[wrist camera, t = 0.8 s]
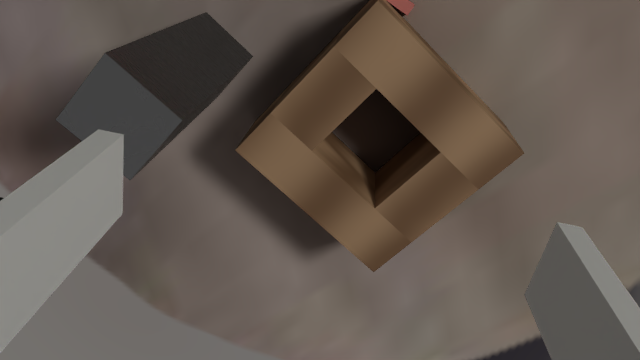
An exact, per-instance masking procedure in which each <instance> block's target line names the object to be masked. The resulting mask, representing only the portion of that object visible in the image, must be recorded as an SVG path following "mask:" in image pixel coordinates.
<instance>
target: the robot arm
mask: <svg viewBox="0 0 640 360" xmlns="http://www.w3.org/2000/svg"><path fill="white" fill-rule="evenodd" d="M123 152H124V134H119V133H114V132H109V131H104V130H100V129H98V130H97V131H95V132H94V133H93V134H91V135H90V136H89V137H87V138H86V139H84V140H83V141H82V142H80V143H79V144H78V145H76V146H75V147H74V148H72V149H71V150H69V151H68V152H67V153H65V154H64V155H63V156H61V157H60V158H58V159H57V160H56V161H54V162H53V163H52V164H50V165H49V166H48V167H46V168H45V169H43V170H42V171H41V172H39V173H38V174H37V175H35V176H34V177H32V178H31V179H30V180H28V181H27V182H26V183H24V184H23V185H22V186H20V187H19V188H17V189H16V190H15V191H13V192H12V193H11V194H9V195H8V196H6V197H5V198H0V353H1V352H2V350H3V349H4V348H5V347H6V346H7V345H8V343H10V341H11V340H12V339H13V338H14V337H15V336H16V334H17V333H18V332H19V331H20V330H21V329H22V328H23V327H24V325H25V324H26V323H27V322H28V321H29V320H30V318H31V317H32V316H33V315H34V314H35V313H36V312H37V311H38V309H39V308H40V307H41V306H42V305H43V304H44V303H45V301H46V300H47V299H48V298H49V297H50V296H51V295H52V293H53V292H54V291H55V290H56V289H57V288H58V286H59V285H60V284H61V283H62V282H63V281H64V280H65V279H66V278H67V276H68V275H69V274H70V273H71V272H72V271H73V269H74V268H75V267H76V266H77V265H78V264H79V263H80V262H81V260H82V259H83V258H84V257H85V256H86V255H87V254H88V252H89V251H90V250H91V249H92V248H93V247H94V246H95V244H96V243H97V242H98V241H99V240H100V239H101V238H102V236H103V235H104V234H105V233H106V232H107V231H108V230H109V229H110V227H111V226H112V225H113V224H114V223H115V222H116V221H117V219H118V218H119V217H120V216H121V215H122V214H123ZM525 297H526V300H527V302H528V305H529V307H530V309H531V312H532V314H533V317H534V319H535V321H536V324H537V326H538V328H539V331H540V333H541V336H542V338H543V340H544V343H545V345H546V348H547V350H548V352H549V355H550V357H551V359H552V360H640V308H639V307H638V305H637V304H636V303H635V301H634V300H633V298H632V297H631V295H630V294H629V292H628V291H627V290H626V288H625V287H624V285H623V284H622V283H621V281H620V280H619V278H618V277H617V276H616V274H615V273H614V271H613V270H612V268H611V267H610V266H609V264H608V263H607V261H606V260H605V259H604V257H603V256H602V254H601V253H600V252H599V250H598V249H597V247H596V246H595V244H594V243H593V242H592V240H591V239H590V237H589V236H588V235H587V233H586V232H585V230H584V229H583V228H582V227H579V226H574V225H569V224H564V223H559V222H557V223H556V225H555V228H554V230H553V232H552V234H551V237H550V239H549V241H548V243H547V246H546V248H545V250H544V252H543V254H542V257H541V259H540V261H539V263H538V266H537V268H536V270H535V272H534V275H533V277H532V279H531V281H530V284H529V286H528V288H527V290H526V293H525Z"/></svg>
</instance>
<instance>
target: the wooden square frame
mask: <svg viewBox="0 0 640 360" xmlns="http://www.w3.org/2000/svg"><path fill="white" fill-rule="evenodd" d="M376 89H377V90H378V91H379V92H380V93H381V94H382V95H383V96H384V97H385V98H386V99H387V100H388V101H390V102H391V103H392V104H393V105H394V106H395V107H396V108H397V109H398V110H399V111H400V112H401V113H402V114H403V115H404V116H405V117H406V118H407V119H408V120H409V121H410V122H411V123H412V124H413V125H414V126H415V127H416V128H417V129H418V130H419V131H420V132H421V133H420V134H419V135H418V136H416V137H415V138H414V139H413V140H412V141H411V142H410V143H408V144H407V145H406V146H405V147H404V148H403V149H402V150H401V151H399V152H398V153H397V154H396V155H395V156H394V157H393V158H392V159H390V160H389V161H388V162H387V163H386V164H385V165H384V166H382V167H381V168H380V169H379V170H378V171H377V172H376V173H375V172H374V171H373V170H372V169H370V168H369V167H368V166H367V165H366V164H365V163H364V162H363V161H362V160H361V159H360V158H359V157H358V156H357V155H356V154H355V153H353V152H352V151H351V150H350V149H349V148H348V147H347V146H346V145H345V144H344V143H343V142H342V141H341V140H340V139H339V138H337V137H336V136H335V135H334V134H333V133H332V131H333V130H334V129H335V128H336V127H337V126H338V125H339V124H340V123H342V122H343V121H344V120H345V119H346V118H347V117H348V116H349V115H350V114H351V113H352V112H353V111H354V110H355V109H356V108H357V107H358V106H359V105H360V104H361V103H362V102H363V101H364V100H365V99H366V98H367V97H368V96H369V95H371V94H372V93H373V92H374V91H375V90H376ZM235 151H237V152H238V153H239V154H240V155H241V156H242V157H243V158H244V159H246V160H247V161H248V162H249V163H250V164H251V165H252V166H254V167H255V168H256V169H257V170H258V171H259V172H260V173H262V174H263V175H264V176H265V177H266V178H267V179H268V180H269V181H271V182H272V183H273V184H274V185H275V186H276V187H277V188H279V189H280V190H281V191H282V192H283V193H284V194H285V195H287V196H288V197H289V198H290V199H291V200H292V201H293V202H295V203H296V204H297V205H298V206H299V207H300V208H301V209H302V210H304V211H305V212H306V213H307V214H308V215H309V216H310V217H312V218H313V219H314V220H315V221H316V222H317V223H318V224H320V225H321V226H322V227H323V228H324V229H325V230H326V231H327V232H329V233H330V234H331V235H332V236H333V237H334V238H335V239H337V240H338V241H339V242H340V243H341V244H342V245H343V246H345V247H346V248H347V249H348V250H349V251H350V252H351V253H352V254H354V255H355V256H356V257H357V258H358V259H359V260H360V261H362V262H363V263H364V264H365V265H366V266H367V267H368V268H370V269H371V270H372V271H373V272H374V271H376V270H377V269H378V268H379V267H381V266H382V265H383V264H385V263H386V262H387V261H388V260H390V259H391V258H392V257H393V256H395V255H396V254H397V253H398V252H400V251H401V250H402V249H404V248H405V247H406V246H407V245H409V244H410V243H411V242H412V241H414V240H415V239H416V238H417V237H419V236H420V235H421V234H423V233H424V232H425V231H426V230H428V229H429V228H430V227H431V226H433V225H434V224H435V223H436V222H438V221H439V220H440V219H442V218H443V217H444V216H445V215H447V214H448V213H449V212H450V211H452V210H453V209H454V208H455V207H457V206H458V205H459V204H461V203H462V202H463V201H464V200H466V199H467V198H468V197H469V196H471V195H472V194H473V193H474V192H476V191H477V190H478V189H480V188H481V187H482V186H483V185H485V184H486V183H487V182H488V181H490V180H491V179H492V178H493V177H495V176H496V175H497V174H499V173H500V172H501V171H502V170H504V169H505V168H506V167H507V166H509V165H510V164H511V163H512V162H514V161H515V160H516V159H518V158H519V157H520V156H521V155H523V154H524V152H523V151H522V149H521V148H520V146H519V145H518V143H517V142H516V140H515V139H514V138H513V136H512V135H511V133H510V132H509V130H508V129H507V127H506V126H505V125H504V123H503V122H502V121H501V120H500V119H499V118H498V117H497V116H496V115H495V114H494V113H493V112H492V110H491V109H490V108H489V107H488V106H487V105H486V104H485V103H484V102H483V101H482V100H481V99H480V98H479V97H478V96H477V95H476V94H475V93H474V92H473V91H472V89H471V88H470V87H469V86H468V85H467V84H466V83H465V82H464V81H463V80H462V79H461V78H460V77H459V76H458V75H457V74H456V73H455V72H454V71H453V70H452V69H451V67H450V66H449V65H448V64H447V63H446V62H445V61H444V60H443V59H442V58H441V57H440V56H439V55H438V54H437V53H436V52H435V51H434V50H433V49H432V48H431V46H430V45H429V44H428V43H427V42H426V41H425V40H424V39H423V38H422V37H421V36H420V35H419V34H418V33H417V32H416V31H415V30H414V29H413V28H412V27H411V26H410V24H409V23H408V22H407V21H406V20H405V19H404V18H403V17H402V16H401V15H400V14H399V13H398V12H397V11H396V10H395V9H394V8H393V7H392V6H391V5H390V3H389V2H388V1H386V0H370V1H369V2H368V3H367V4H366V5H365V6H364V7H363V8H362V9H361V10H360V11H359V12H358V13H357V14H356V15H355V16H354V18H353V19H352V20H351V21H350V22H349V23H348V24H347V25H346V26H345V27H344V28H343V29H342V30H341V31H340V32H339V33H338V34H337V35H336V37H335V38H334V39H333V40H332V41H331V42H330V43H329V44H328V45H327V46H326V47H325V48H324V49H323V50H322V51H321V52H320V53H319V55H318V56H317V57H316V58H315V59H314V60H313V61H312V62H311V63H310V64H309V65H308V66H307V67H306V68H305V69H304V70H303V71H302V73H301V74H300V75H299V76H298V77H297V78H296V79H295V80H294V81H293V82H292V83H291V84H290V85H289V86H288V87H287V88H286V89H285V91H284V92H283V93H282V94H281V95H280V96H279V97H278V98H277V99H276V100H275V101H274V102H273V103H272V104H271V105H270V106H269V107H268V108H267V110H266V111H265V112H264V113H263V114H262V115H261V116H260V117H259V118H258V119H257V120H256V121H255V122H254V124H253V125H252V127H251V128H250V130H249V131H248V132H247V134H246V135H245V137H244V138H243V140H242V141H241V143H240V144H239V145H238V147H237V148H236V150H235Z"/></svg>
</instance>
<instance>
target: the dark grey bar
mask: <svg viewBox="0 0 640 360" xmlns="http://www.w3.org/2000/svg"><path fill="white" fill-rule="evenodd" d="M252 57H253V56H252V55H251V54H250V53H249V52H248V51H247V50H246V49H245V48H244V47H243V46H242V45H241V44H239V43H238V42H237V41H236V40H235V39H234V38H233V37H232V36H231V35H230V34H229V33H228V32H227V31H226V30H225V29H224V28H222V27H221V26H220V25H219V24H218V23H217V22H216V21H215V20H214V19H213V18H212V17H211V16H210V15H209V14H208V13H203V14H201V15H198V16H196V17H193V18H191V19H188V20H186V21H183V22H181V23H178V24H176V25H173V26H171V27H168V28H166V29H163V30H161V31H158V32H156V33H153V34H151V35H149V36H146V37H144V38H141V39H139V40H136V41H134V42H131V43H129V44H126V45H124V46H121V47H119V48H116V49H114V50H111V51H109V52H106V53H105V54H104V55H103V56H102V58H101V59H100V60H99V62H98V63H97V65H96V66H95V67H94V69H93V70H92V71H91V73H90V74H89V75H88V77H87V78H86V79H85V81H84V82H83V84H82V85H81V86H80V88H79V89H78V90H77V92H76V93H75V94H74V96H73V97H72V98H71V100H70V101H69V103H68V104H67V105H66V107H65V108H64V109H63V111H62V112H61V113H60V115H59V116H58V117H57V119H56V120H57V121H58V122H59V123H60V124H61V125H63V126H64V127H65V128H66V129H68V130H69V131H70V132H71V133H73V134H74V135H75V136H76V137H77V138H79V139H80V140H81V141H83V140H84V139H86V138H87V137H89V136H90V135H91V134H93V133H94V132H95V131H97V130H98V129H100V130H104V131H109V132H114V133H119V134H124V152H123V175H124V176H125V177H126V178H128V179H129V180H131V179H132V178H133V177H134V176H135V175H136V174H137V173H138V172H139V171H141V170H142V169H143V168H144V167H145V166H146V165H147V164H148V163H149V162H150V161H151V160H152V159H153V158H154V157H155V156H156V155H157V154H158V153H159V152H160V151H161V150H163V149H164V148H165V147H166V146H167V145H168V144H169V143H170V142H171V141H172V140H173V139H174V138H175V137H176V136H177V135H178V134H179V133H180V132H181V131H182V130H183V129H185V128H186V127H187V126H188V125H189V124H190V123H191V122H192V121H193V120H194V119H195V118H196V117H197V116H198V115H199V114H200V113H201V112H202V111H203V110H204V109H205V108H207V107H208V106H209V105H210V104H211V103H212V102H213V101H214V100H215V99H216V98H217V97H218V96H219V95H220V93H221V92H222V91H223V90H224V89H225V88H226V87H227V85H228V84H229V83H230V82H231V81H232V80H233V79H234V78H235V76H236V75H237V74H238V73H239V72H240V71H241V70H242V68H243V67H244V66H245V65H246V64H247V63H248V62H249V61H250V59H251V58H252Z"/></svg>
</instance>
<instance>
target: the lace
mask: <svg viewBox="0 0 640 360" xmlns="http://www.w3.org/2000/svg"><path fill="white" fill-rule="evenodd" d="M386 1H388V2H389V3H391V4H392V5H393V6H395V7H396V8H397V9H399V10H400V11H402V12H403V13H404V14H406V15H408V14H409V12H410V11H411V10H412V8H413V7H414V4H413V3H412V2H410V1H409V0H386Z"/></svg>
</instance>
